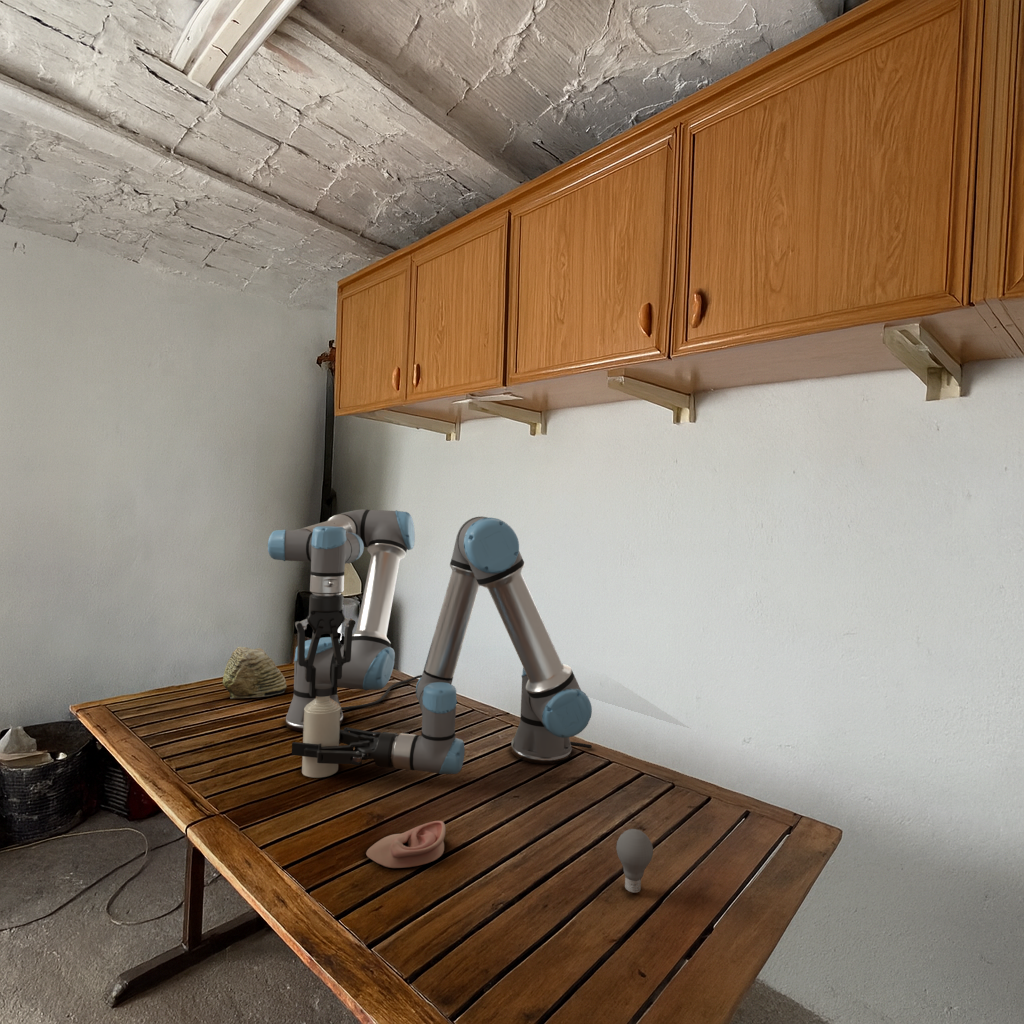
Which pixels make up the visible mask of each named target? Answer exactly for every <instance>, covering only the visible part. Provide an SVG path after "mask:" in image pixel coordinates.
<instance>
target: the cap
mask: <svg viewBox="0 0 1024 1024" xmlns="http://www.w3.org/2000/svg"><path fill="white" fill-rule="evenodd" d="M332 694H333V685H331V684H317V685H315V696H318V697H326V696H330V695H332Z"/></svg>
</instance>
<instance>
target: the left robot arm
mask: <svg viewBox="0 0 1024 1024" xmlns="http://www.w3.org/2000/svg"><path fill="white" fill-rule="evenodd" d="M415 533H416V532H415V525H414V519H413V517H412V514H411V513H409V512H407V511H401V510H397V509H396V510H386V509H385V510H381V509H380V510H379V509H367V508H366V509H365V508H362V509H354V510H351V511H345V512H341V513H338V514H334V515H332V516H331V517H329V518H328V519H327V520H326V521H322V522H319V523H315V524H312V525H309V526H305V527H301V528H297V529H292V530H291V529H275V530H273V531H272V532H271V533H270V534H269V537H268V540H267V552H268V555H269V556H270V558H271V559H273V560H276V561H283V562H286V561H287V562H308V563H309V562H310V579H309V580H310V583H309V592H310V593H311V594H310V595H309V603H308V604H309V605H308V614H307V615H306V617H305V619H303V620H301V621H300V620H297V621H295V622H294V625H295V629H296V630H297V645H296V647H295V654H294V659H293V661H294V670H293V671H294V672H293V695H292V696H293V697H292V699H291V702H290V704H289V708H288V711H287V713H286V715H285V726H286V728H287V729H289V730H291V731H294V732H295V731H296V732H301V733H303V724H304V708H305V707H306V705H307V704H309V703H310V702H311V701H313V700H314V699H316V696H315V685H317V684H331V685H333V694H332V695H330V698H331V699H333V700H334V701H336V702H337V703H339V705H340V706H341V702H340V699H339V695H338V689H354V690H364V691H379V690H382V689H384V688H385V687H386V686H387V684H388V683H389V681H390V680H391V677H392V674H393V671H394V666H395V658H396V653H395V650H394V648H392V647H391V641H390V640H389V639H388V637H387V635H388V629H389V623H390V618H391V611H392V608H393V607H392V606H393V601H394V596H395V595H394V594H395V590H396V584H397V580H398V579H397V578H398V574H399V573H398V572H399V567H400V561H401V560H403V559H405V558H406V557H407V551H411V550H413V549H414V546H415V542H416V540H415V538H416V536H415V535H416V534H415ZM364 548H367V552H368V553H369V555H370V559H369V560H370V561H369V565H368V569H367V574H366V581H365V585H364V590H363V596H362V600H361V606H360V610H359V615H358V620H357V625H356V620H354V619H353V618H351V617H350V618H348V617H346V616H345V614H344V600H345V599H344V594H342V593H343V592H344V590H345V570H346V564H352V563H354V562H356V561H357V560H359V559H360V558H361V557H362V555H363V553H364ZM342 624H343V627H345V628H344V636H343V637H344V638H343V644H341V641H340V639H339V632H338V630H339V629H340V627H341V626H342ZM308 625H309V626H310V628H311V629H312V635H311V639H307V640H306V630H307V628H308ZM355 626H356V630H355V632H354V633H353V630H354V629H355ZM327 634H328V635H329V636H325V637H322V635H323V636H324V635H327ZM421 677H422V674H418V675H416V676H414V677H411V678H409V679H405V680H401V681H398V682H395V683H393V684H392V685H390V686H389V687H388V688H387V689H386V691H385V692H384V693H383V695H381V697H379V699H377V700H375V701H372V702H368V703H364V704H358V705H357V704H356V705H351V706H341V712H340V725H342V723H343V722H344V714H343V711H348V710H355V709H364V708H367V707H372V706H374V705H377V704H379V703H380V702H382V701H383V700H384V699H385V698H386V697H387V696H388V694H389V693H390V691H391V690H392V689H394V688H396V687H398V686H399V685H404V684H408V683H410V682H413V681H416V680H419V679H420V678H421Z"/></svg>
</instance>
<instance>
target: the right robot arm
mask: <svg viewBox="0 0 1024 1024" xmlns="http://www.w3.org/2000/svg"><path fill="white" fill-rule="evenodd" d="M525 565H526V563H525V561H524V559H523V555H522V553H521V552H520V541H519V537H518V536H517V533H516V532H515V530H514V529H513V528H512V527H511V525H509V524H508V523H507V522H505V521H504V520H502V519H500V518H496V517H488V516H475V517H472V518H470V519H468V520H467V521H465V522H464V523H463V524H462V525H461V526H460V528H459V529H458V531H457V534H456V539H455V542H454V547H453V551H452V555H451V560H450V563H449V568H450V569H451V574H450V578H449V581H448V585H447V588H446V592H445V594H444V598H443V602H442V605H441V608H440V612H439V615H438V618H437V622H436V625H435V629H434V633H433V636H432V640H431V643H430V646H429V650H428V653H427V657H426V660H425V664H424V667H423V671H422V674H421V675H422V677H421V678H418V679H417V680H418V681H417V682H416V684H415V697H416V699H417V701H418V704H419V708H420V711H421V734H414V733H413V734H411V733H410V734H409V733H403V732H401V733H399V734H398V733H397V732H388V731H383V732H381V731H370V730H364V729H358V728H352V727H348V726H346V727H344V728H343V729H340V737H339V746H326V747H321V744H309V743H303V742H298V741H293V742H292V743H291V756H297V757H302V756H306V757H315V758H317V763H327V764H338V765H353V766H362V765H363V761H368V760H373V761H374V764H375V766H376V767H378V768H384V769H385V768H387V769H392V768H394V769H396V770H397V769H398V770H404V771H405V772H409V771H416V772H417V771H418V772H424V773H432V774H433V773H434V774H438V775H457V774H459V773H460V772H461V770H462V768H463V765H464V761H465V754H466V753H465V751H466V750H465V749H466V748H465V742H464V741H463V739H461V738H458V737H456V715H457V704H458V699H457V688H456V686H455V685H454V684H453V679H454V676H455V673H456V669H457V666H458V662H459V659H460V655H461V652H462V648H463V645H464V641H465V638H466V635H467V632H468V627H469V625H470V621H471V618H472V613H473V611H474V608H475V603H476V601H477V597H478V594H479V590H480V587H482V588H485V589H487V590H488V592H489V595H490V598H491V599H492V601H493V604H494V606H495V608H496V610H497V612H498V614H499V617H500V619H501V621H502V624H503V626H504V628H505V630H506V632H507V634H508V638H509V639H510V641H511V643H512V646H513V648H514V650H515V651H516V655H517V657H518V658H519V661H520V663H521V666H522V672H521V673H522V674H521V695H520V716H519V717H520V719H519V723H518V726H517V729H516V732H515V734H514V737H513V738H512V739H511V753H512V754H513V756H515V757H516V758H517V759H519V760H521V761H524V762H526V763H527V762H528V763H530V764H531V763H532V764H538V765H539V764H540V765H554V764H561V763H563V762H566V761H568V760H569V759H570V758H571V757H572V748H573V747H579V748H586V749H592V748H593V745H592V744H589V743H582V742H577V741H571V739H570V738H573V737H575V736H577V735H579V734H581V733H582V732H584V730H585V729H586V728H587V726H588V725H589V723H590V720H591V718H592V714H593V706H592V703H591V701H590V698H589V696H588V695H587V693H585V692H584V690H583V691H582V689H581V687H580V685H579V682H578V680H577V678H576V676H575V674H574V672H573V671H574V670H573V669H572V667H571V666H569V664H566V663H563V661H562V660H561V658H560V656H559V654H558V653H559V652H557V649H556V647H555V644H554V642H553V640H552V638H551V636H550V634H549V631H548V629H547V626H546V624H545V622H544V620H543V618H542V615H541V613H540V611H539V609H538V607H537V604H536V602H535V600H534V597H533V595H532V592H531V591H530V589H529V586H528V584H527V581H526V579H525V577H524V575H523V570H524V568H525ZM341 744H344V745H341ZM572 746H573V747H572Z"/></svg>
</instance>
